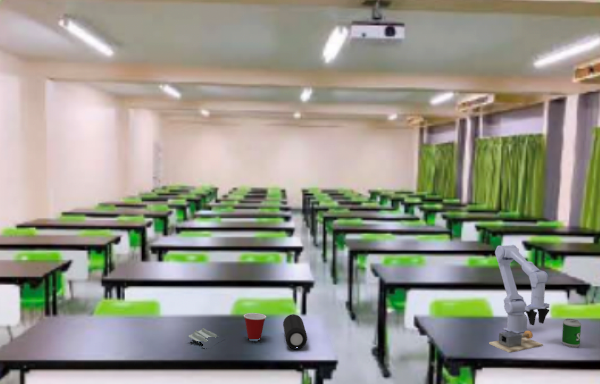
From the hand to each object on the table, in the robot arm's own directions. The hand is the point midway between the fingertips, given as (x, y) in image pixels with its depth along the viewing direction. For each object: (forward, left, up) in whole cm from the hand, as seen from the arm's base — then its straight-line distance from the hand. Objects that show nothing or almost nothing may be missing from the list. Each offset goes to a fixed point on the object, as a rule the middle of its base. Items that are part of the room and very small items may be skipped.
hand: (536, 323), depth 250 cm
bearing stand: (+14, 0, -8) cm, 16 cm away
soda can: (-10, +11, -9) cm, 17 cm away
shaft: (+11, 0, -6) cm, 13 cm away
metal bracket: (+147, -62, -9) cm, 159 cm away
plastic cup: (+125, -55, -9) cm, 136 cm away
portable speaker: (+108, -46, -9) cm, 118 cm away
